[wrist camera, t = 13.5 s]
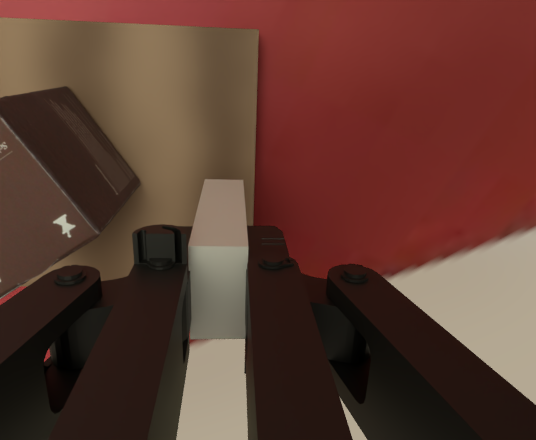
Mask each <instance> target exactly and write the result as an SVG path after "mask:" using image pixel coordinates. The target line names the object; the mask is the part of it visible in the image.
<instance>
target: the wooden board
mask: <svg viewBox="0 0 536 440" xmlns="http://www.w3.org/2000/svg"><path fill="white" fill-rule="evenodd" d="M258 41H259V30H258V29H237V28H215V27H194V26H172V25H151V24H130V23H108V22H87V21H65V20H44V19H22V18H1V17H0V98H1V97H4V96H12V95H18V94H24V93H29V92H34V91H41V90H46V89H52V88H58V87H63V86H67V87H68V88H69V89H70V91H71V92H72V93H73V95H74V96H75V97H76V98H77V100H78V101H79V102H80V104H81V105H82V106H83V108H84V109H85V110H86V111H87V113H88V114H89V115H90V117H91V118H92V119H93V121H94V122H95V123H96V124H97V126H98V127H99V128H100V129H101V131H102V132H103V133H104V135H105V136H106V137H107V139H108V140H109V141H110V143H111V144H112V145H113V146H114V148H115V149H116V151H117V152H118V153H119V154H120V155H121V157H122V158H123V160H124V161H125V162H126V163H127V165H128V166H129V167H130V168H131V170H132V171H133V173H134V174H135V175H136V176H137V178H138V179H139V180H140V182H141V184H140V186H139V187H138V188H137V189H136V191H135V192H134V193H133V194H132V196H131V197H130V198H129V200H128V201H127V202H126V203H125V205H124V206H123V207H122V208H121V210H120V211H119V212H118V213H117V214H116V216H115V217H114V218H113V219H112V220H111V222H110V223H109V224H108V225H107V226H106V228H105V229H104V230H103V231H102V232H101V233H100V235H99V236H98V237H97V238H96V239H94V240H93V241H91V242H90V243H88V244H87V245H85V246H83V247H82V248H80V249H78V250H77V251H75V252H74V253H72V254H70V255H69V256H67V257H66V258H64V259H62V260H61V261H59V262H57V263H56V264H54V265H53V266H51V267H50V268H49V269H48V270H46V271H45V272H44V273H42V274H41V275H39V276H37V277H35V278H33V279H31V280H29V281H28V282H26V283H25V284H23V285H21V286H29V285H30V284H32V283H33V282H35V281H36V280H38V279H39V278H41V277H42V276H43V275H45V274H47V273H49V272H51V271H53V270H55V269H59V268H62V267H63V266H68V265H70V266H71V265H83V266H90V267H94V268H96V269H97V270H99V271H100V277H101V281H106V280H113V279H118V278H123V277H126V276H128V275H129V273H130V271H131V269H132V267H133V265H134V255H133V241H132V233H133V232H134V231H135V230H137V229H139V228H142V227H145V226H150V225H160V224H166V225H174V226H193V224H194V220H195V216H196V212H197V208H198V204H199V200H200V196H201V192H202V189H203V185H204V181H205V179H222V180H243V183H244V196H245V209H246V222H247V226H253V213H254V178H255V144H256V110H257V75H258Z"/></svg>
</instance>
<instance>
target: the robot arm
mask: <svg viewBox="0 0 536 440" xmlns="http://www.w3.org/2000/svg"><path fill="white" fill-rule="evenodd" d="M132 241H133V255H134V265H133V267H132V269H131V271H130V273H129V275H128V276H126V277H123V278H118V279H113V280H106V281H101V277H100V271H99V270H97V269H96V268H94V267H90V266H83V265H71V266H70V265H68V266H63V267H62V268H59V269H55V270H53V271H51V272H49V273H47V274H45V275H43V276H42V277H41V278H39V279H38V280H36V281H35V282H33V283H32V284H30V285H29V286H28V287H26V288H25V289H23V290H22V291H20V292H19V293H18V294H16V295H15V296H13V297H12V298H10V299H9V300H7V301H6V302H5V303H3V304H2V305H0V440H176V436H177V429H178V423H179V416H180V409H181V403H182V396H183V389H184V383H185V377H186V370H187V363H188V357H189V331H190V339H245V374H246V389H247V418H248V440H353V439H352V436H351V433H350V430H349V426H348V424H347V420H346V417H345V414H344V410H343V408H342V404H341V401H340V398H341V399H342V401H343V403H344V404H345V406H346V407H347V409H348V410H349V412H350V413H351V415H352V416H353V418H354V419H355V421H356V423H357V424H358V426H359V427H360V429H361V430H362V432H363V433H364V435H365V437H366V438H367V440H536V405H535V404H534V403H533V402H531V401H530V400H529V399H528V398H526V397H525V396H524V395H523V394H522V393H521V392H519V391H518V390H517V389H516V388H515V387H513V386H512V385H511V384H510V383H509V382H507V381H506V380H505V379H504V378H503V377H501V376H500V375H499V374H498V373H497V372H495V371H494V370H493V369H492V368H491V367H489V366H488V365H487V364H486V363H484V362H483V361H482V360H481V359H480V358H479V357H477V356H476V355H475V354H474V353H473V352H471V351H470V350H469V349H468V348H467V347H466V346H464V345H463V344H462V343H461V342H460V341H458V340H457V339H456V338H455V337H454V336H452V335H451V334H450V333H449V332H448V331H446V330H445V329H444V328H443V327H442V326H440V325H439V324H438V323H437V322H435V321H434V320H433V319H432V318H431V317H430V316H428V315H427V314H426V313H425V312H423V311H422V310H421V309H420V308H419V307H418V306H416V305H415V304H414V303H413V302H412V301H410V300H409V299H408V298H407V297H405V296H404V295H403V294H402V293H401V292H400V291H398V290H397V289H396V288H395V287H394V286H392V285H391V284H390V283H389V282H388V281H387V280H385V279H384V278H383V277H382V276H381V275H379V274H378V273H377V272H375V271H373V270H372V269H369V268H366V267H363V266H362V265H358V264H357V265H355V264H348V265H339V266H334V267H333V268H331V269H330V270H329V272H328V276H327V279H322V278H316V277H311V276H308V275H305V274H302V273H301V272H300V269H299V266H298V263H297V262H296V261H295V260H294V259H293V258H291V257H289V253H288V250H287V246H286V243H285V240H284V236H283V232H282V231H281V230H279V229H278V228H277V227H275V226H247V222H246V209H245V196H244V183H243V180H222V179H205V181H204V185H203V189H202V192H201V196H200V200H199V204H198V208H197V212H196V216H195V220H194V224H193V226H174V225H166V224H160V225H150V226H145V227H142V228H139V229H137V230H135V231H134V232H133V233H132ZM48 349H50V355H51V356H50V357H49V358H48V359H47V360H46V361H45V362H44V358H45V356H46V353H47V350H48ZM339 396H340V398H339Z"/></svg>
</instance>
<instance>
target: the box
mask: <svg viewBox="0 0 536 440" xmlns="http://www.w3.org/2000/svg"><path fill="white" fill-rule="evenodd" d="M140 184H141V182H140V180H139V179H138V178H137V176H136V175H135V174H134V173H133V171H132V170H131V168H130V167H129V166H128V165H127V163H126V162H125V161H124V160H123V158H122V157H121V155H120V154H119V153H118V152H117V151H116V149H115V148H114V146H113V145H112V144H111V143H110V141H109V140H108V139H107V137H106V136H105V135H104V133H103V132H102V131H101V129H100V128H99V127H98V126H97V124H96V123H95V122H94V121H93V119H92V118H91V117H90V115H89V114H88V113H87V111H86V110H85V109H84V108H83V106H82V105H81V104H80V102H79V101H78V100H77V98H76V97H75V96H74V95H73V93H72V92H71V91H70V89H69V88H68V87H67V86H63V87H58V88H52V89H46V90H41V91H34V92H29V93H24V94H18V95H12V96H4V97H1V98H0V299H1V298H3V297H4V296H6V295H7V294H9V293H10V292H12V291H13V290H15V289H17V288H18V287H20V286H21V285H23V284H25V283H26V282H28V281H29V280H31V279H33V278H35V277H37V276H39V275H41V274H42V273H44V272H45V271H46V270H48V269H49V268H50V267H51V266H53V265H54V264H56V263H57V262H59V261H61V260H62V259H64V258H66V257H67V256H69V255H70V254H72V253H74V252H75V251H77V250H78V249H80V248H82V247H83V246H85V245H87V244H88V243H90V242H91V241H93V240H94V239H96V238H97V237H98V236H99V235H100V233H101V232H102V231H103V230H104V229H105V228H106V226H107V225H108V224H109V223H110V222H111V220H112V219H113V218H114V217H115V216H116V214H117V213H118V212H119V211H120V210H121V208H122V207H123V206H124V205H125V203H126V202H127V201H128V200H129V198H130V197H131V196H132V194H133V193H134V192H135V191H136V189H137V188H138V187H139V186H140Z"/></svg>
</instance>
